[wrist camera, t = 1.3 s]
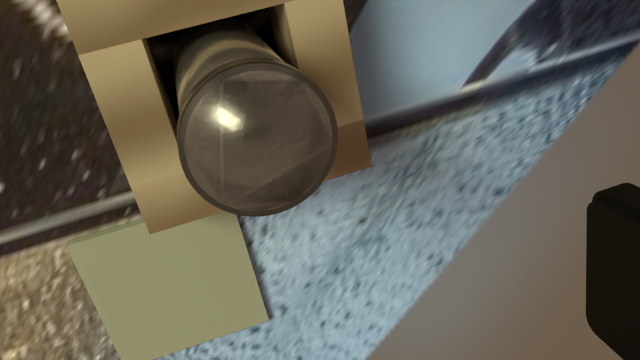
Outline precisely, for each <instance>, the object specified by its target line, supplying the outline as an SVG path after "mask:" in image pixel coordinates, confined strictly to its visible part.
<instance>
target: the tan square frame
mask: <svg viewBox="0 0 640 360" xmlns="http://www.w3.org/2000/svg"><path fill="white" fill-rule="evenodd" d="M56 1H57V3H58V6H59V8H60V11H61V13H62V16H63V18H64V21H65V23H66V26H67V28H68V31H69V33H70V36H71V38H72V41H73V43H74V46H75V48H76V51H77V53H78V56H79V58H80V61H81V63H82V66H83V68H84V71H85V73H86V76H87V78H88V81H89V83H90V86H91V88H92V91H93V93H94V96H95V99H96V101H97V104H98V106H99V109H100V111H101V114H102V116H103V119H104V121H105V124H106V126H107V129H108V131H109V134H110V136H111V139H112V141H113V144H114V146H115V149H116V151H117V154H118V156H119V159H120V161H121V164H122V166H123V169H124V171H125V174H126V176H127V179H128V181H129V184H130V186H131V189H132V191H133V194H134V196H135V199H136V201H137V204H138V206H139V209H140V211H141V214H142V216H143V219H144V221H145V224H146V226H147V229H148V231H149V234H153V233H156V232H160V231H163V230H166V229H169V228H173V227H176V226H179V225H182V224H186V223H189V222H192V221H195V220H199V219H202V218H205V217H209V216H212V215H215V214H218V213H222V212H225V211H223V210H221V209H219V208H217V207H215V206H213V205H211V204H210V203H209V202H207V201H206V200H204V199H203V198H202V197H201V196H200V195H199V194H198V193H197V192H196V191H195V190H194V188H193V187H192V186H191V185H190V183H189V181H188V180H187V178H186V176H185V174H184V171H183V169H182V166H181V163H180V159H179V152H178V143H177V124H178V123H177V120H176V117H175V114H174V111H173V108H172V105H171V102H170V99H169V96H168V93H167V90H166V87H165V84H164V82H163V79H162V76H161V73H160V70H159V67H158V64H157V61H156V58H155V55H154V52H153V49H152V46H151V43H150V40H149V37H152V36H156V35H160V34H164V33H168V32H172V31H176V30H180V29H184V28H188V27H192V26H196V25H200V24H204V23H208V22H212V21H216V20H220V19H223V18H227V17H231V16H235V15H239V14H243V13H247V12H251V11H255V10H259V9H263V8H268V12H269V16H270V21H271V25H272V29H273V34H274V38H275V42H276V46H277V51H278V55H279V57H280V58H281V59H282V60H283V61H284V62H285V63H287V64H289V65H291V66H293V67H295V68H297V69H298V70H299V71H301V72H302V73H304V74H305V75H306V76H307V77H308V78H309V79H310V80H311V81H312V82H313V83H314V84H316V85H317V86H318V87H319V88H320V90H321V91H322V92H323V93H324V95H325V96H326V98H327V99H328V101H329V103H330V104H331V107H332V109H333V111H334V114H335V118H336V121H337V128H338V145H337V152H336V155H335V159H334V162H333V164H332V167H331V169H330V171H329V173H328V175H327V176H326V178H325V179H324V181H326V180H329V179H332V178H336V177H339V176H342V175H345V174H349V173H352V172H355V171H358V170H362V169H365V168H368V167H371V166H372V164H371V159H370V153H369V147H368V141H367V136H366V130H365V124H364V118H363V113H362V107H361V101H360V96H359V90H358V84H357V78H356V73H355V67H354V61H353V56H352V50H351V44H350V38H349V33H348V27H347V21H346V16H345V10H344V4H343V0H56Z"/></svg>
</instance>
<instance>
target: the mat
mask: <svg viewBox="0 0 640 360" xmlns="http://www.w3.org/2000/svg"><path fill="white" fill-rule="evenodd" d="M66 247H67V249H68V251H69V253H70V255H71V257H72V260H73V262H74V264H75V266H76V268H77V270H78V272H79V274H80V276H81V278H82V280H83V282H84V284H85V286H86V288H87V291H88V293H89V295H90V297H91V299H92V301H93V303H94V305H95V307H96V309H97V311H98V313H99V315H100V317H101V319H102V322H103V324H104V326H105V328H106V330H107V332H108V334H109V336H110V338H111V340H112V342H113V344H114V346H115V348H116V350H117V353H118V355H119V357H120V359H121V360H154V359H156V358H159V357H162V356H165V355H168V354H171V353H174V352H177V351H180V350H183V349H186V348H189V347H192V346H195V345H197V344H200V343H203V342H206V341H209V340H212V339H215V338H218V337H221V336H224V335H227V334H230V333H233V332H236V331H238V330H241V329H244V328H247V327H250V326H253V325H256V324H259V323H262V322H265V321H268V320H269V318H268V315H267V312H266V309H265V305H264V302H263V299H262V296H261V292H260V289H259V286H258V283H257V280H256V276H255V273H254V270H253V267H252V263H251V260H250V257H249V254H248V251H247V247H246V244H245V241H244V238H243V234H242V231H241V228H240V225H239V221H238V218H237V215H236V214H232V213H229V212H226V211H225V212H222V213H218V214H215V215H212V216H209V217H205V218H202V219H199V220H195V221H192V222H189V223H186V224H182V225H179V226H176V227H173V228H169V229H166V230H163V231H160V232H156V233H153V234H149V231H148V229H147V226H146V224H145V221H144V219H141V220H137V221H134V222H131V223H127V224H124V225H121V226H117V227H114V228H111V229H107V230H104V231H101V232H98V233H94V234H91V235H88V236H84V237H81V238H78V239H74V240H71V241H68V242H67V245H66Z"/></svg>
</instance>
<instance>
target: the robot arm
mask: <svg viewBox="0 0 640 360" xmlns="http://www.w3.org/2000/svg"><path fill="white" fill-rule="evenodd" d="M586 266H587V267H586V317H587V321H588V324H589V326H590V327H591V329H592V331H593V332H594V333H595V334H596V335H597V336H598V337H599V338H600V339H601V340H602V341H604V342H605V343H606V344H607V345H608V346H609V347H610V348H611V349H612V350H614V351H615V352H616V353H617V354H618V355H619V356H620V357H621V358H622V359H624V360H640V188H639V187H637V186H635V185H633V184H630V183H623V184H620V185H617V186H614V187H611V188H608V189H605V190H602V191H599V192H597V193H596V194H595V195H594V197H593V200H592V202H591V203H590V204H589V205H588V207H587V260H586Z"/></svg>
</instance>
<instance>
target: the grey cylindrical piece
mask: <svg viewBox="0 0 640 360" xmlns="http://www.w3.org/2000/svg"><path fill="white" fill-rule="evenodd" d="M173 71H174V78H175V85H176V92H177V99H178V106H179V113H180V115H179V118H178V124H177V143H178V152H179V159H180V163H181V166H182V169H183V171H184V174H185V176H186V178H187V180H188V181H189V183H190V185H191V186H192V187H193V188H194V190H195V191H196V192H197V193H198V194H199V195H200V196H201V197H202V198H203V199H204V200H206V201H207V202H209V203H210V204H211V205H213V206H215V207H217V208H219V209H221V210H223V211H226V212H229V213H232V214H236V215H240V216H250V217H252V216H267V215H272V214H276V213H280V212H283V211H285V210H288V209H290V208H292V207H294V206H296V205H298V204H299V203H301V202H302V201H304V200H305V199H307V198H308V197H309V196H310V195H311V194H312V193H314V191H315V190H316V189H317V188H318V187H319V186H320V185H321V183H322V182H323V181H324V179H325V178H326V176H327V175H328V173H329V171H330V169H331V167H332V164H333V162H334V159H335V155H336V152H337V145H338V128H337V121H336V118H335V114H334V111H333V109H332V107H331V104H330V103H329V101H328V99H327V98H326V96H325V95H324V93H323V92H322V91H321V90H320V88H319V87H318V86H317V85H316V84H314V83H313V82H312V81H311V80H310V79H309V78H308V77H307V76H306V75H305V74H304V73H302V72H301V71H299V70H298V69H297V68H295V67H293V66H291V65H289V64H287V63H285V62H284V61H283V60H282V59H281V58H280V57H279V56H278V55H277V54H276V53H275V52H274V51H273V50H272V49H271V48H270V47H269V46H268V45H267V44H266V43H265V42H264V41H263V40H262V39H261V38H260V37H259V36H258V35H257V34H256V33H255V32H254V31H253V30H252V29H251V28H249V27H248V26H247V25H245V24H243V23H242V22H240V21H237V20H234V19H231V18H223V19H220V20H216V21H212V22H208V23H204V24H200V25H196V26H192V27H190V28H189V29H188V30H187V31H186V32H185V33H184V34H183V35H182V37H181V38H180V40H179V41H178V43H177V46H176V48H175V51H174V56H173Z"/></svg>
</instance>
